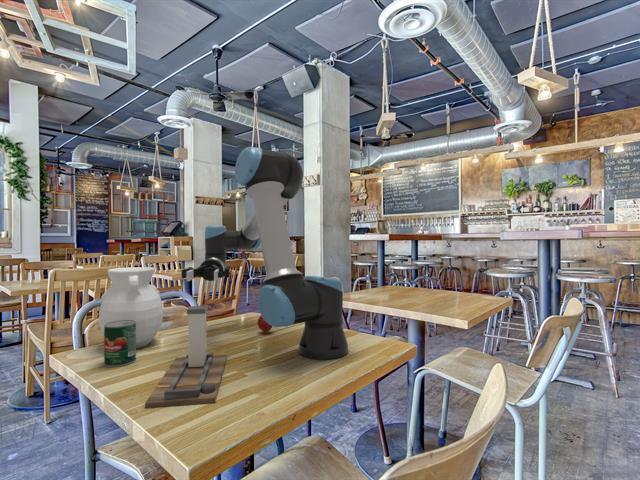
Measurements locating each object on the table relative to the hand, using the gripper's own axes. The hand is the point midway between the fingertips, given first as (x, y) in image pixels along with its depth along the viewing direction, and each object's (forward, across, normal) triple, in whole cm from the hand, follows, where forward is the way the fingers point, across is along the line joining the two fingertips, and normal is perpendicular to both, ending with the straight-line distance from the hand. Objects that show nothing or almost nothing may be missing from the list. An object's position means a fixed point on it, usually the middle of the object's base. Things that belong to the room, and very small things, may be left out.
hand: (201, 276), depth 102 cm
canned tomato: (-2, +22, -24) cm, 33 cm away
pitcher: (-18, +25, -24) cm, 39 cm away
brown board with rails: (+14, 0, -24) cm, 28 cm away
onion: (-26, -19, -24) cm, 40 cm away
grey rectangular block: (+7, 0, -23) cm, 24 cm away
